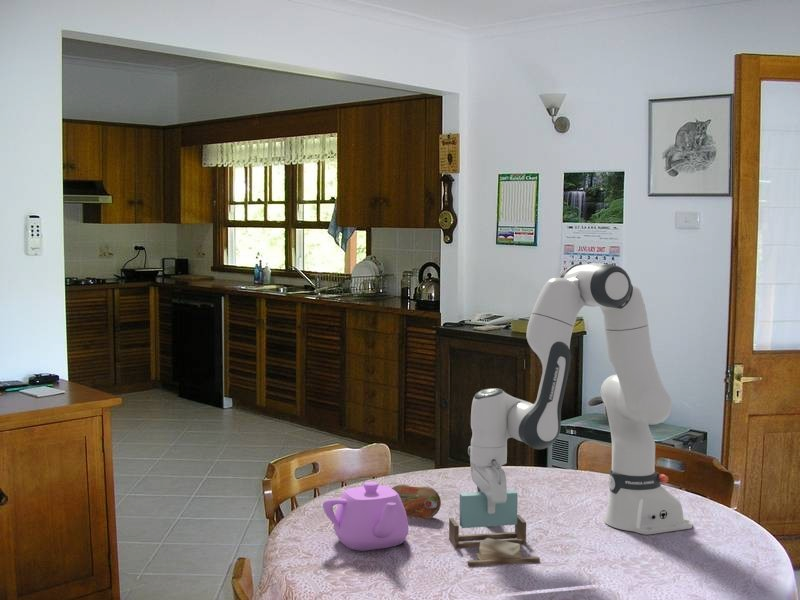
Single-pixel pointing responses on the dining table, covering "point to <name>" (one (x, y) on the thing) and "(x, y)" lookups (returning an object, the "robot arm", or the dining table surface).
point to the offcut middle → (497, 555)
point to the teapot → (368, 517)
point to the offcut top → (499, 546)
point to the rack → (519, 534)
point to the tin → (419, 500)
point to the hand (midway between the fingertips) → (488, 510)
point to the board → (476, 510)
